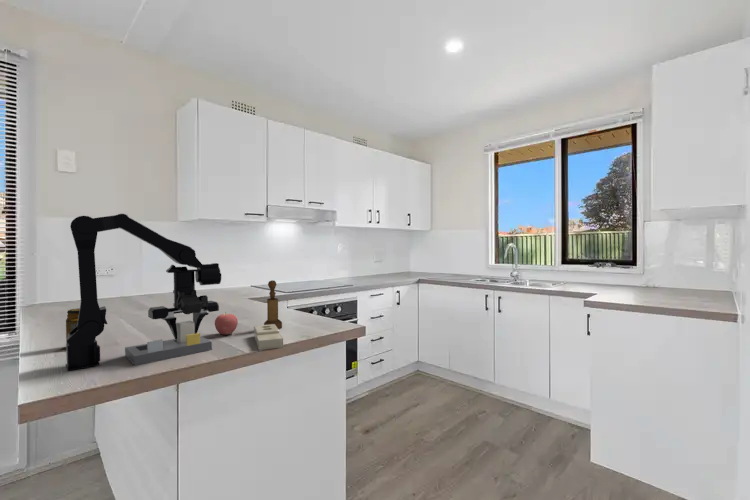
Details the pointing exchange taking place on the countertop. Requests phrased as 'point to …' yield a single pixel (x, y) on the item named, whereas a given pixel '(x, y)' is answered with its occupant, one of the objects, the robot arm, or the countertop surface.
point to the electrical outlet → (267, 337)
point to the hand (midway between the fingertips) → (185, 337)
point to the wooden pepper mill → (272, 307)
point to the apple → (226, 323)
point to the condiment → (70, 323)
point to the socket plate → (166, 349)
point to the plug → (184, 330)
